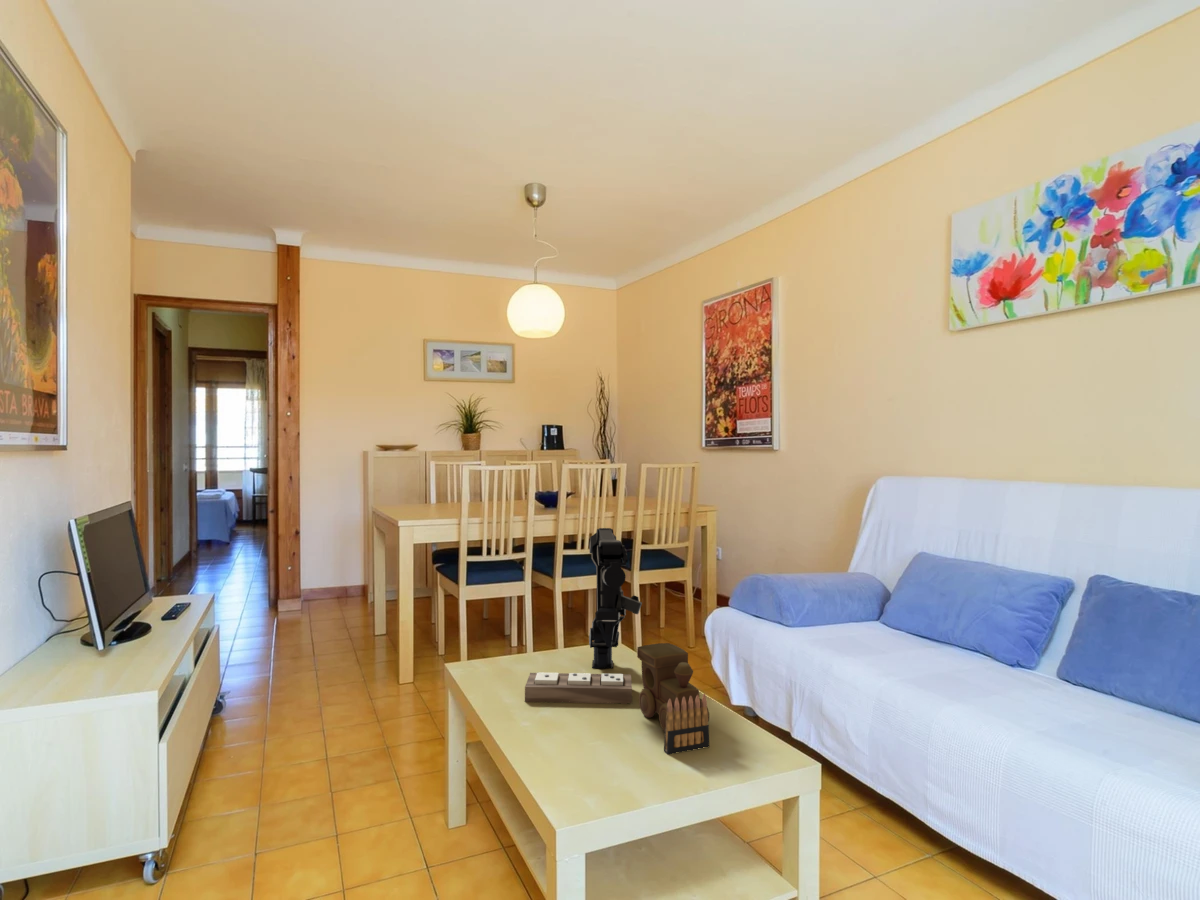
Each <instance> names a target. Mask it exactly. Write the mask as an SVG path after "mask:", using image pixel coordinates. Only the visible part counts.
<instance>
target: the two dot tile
mask: <svg viewBox="0 0 1200 900" xmlns="http://www.w3.org/2000/svg"><path fill="white" fill-rule="evenodd" d="M568 673H569V677H568V685H591V674H592V673H591V672H588V673H587V672H585V673H584V672H568Z"/></svg>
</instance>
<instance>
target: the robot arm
mask: <svg viewBox="0 0 1200 900" xmlns="http://www.w3.org/2000/svg"><path fill="white" fill-rule="evenodd" d="M588 547H589V554H591V560H592V562H593V564H594V565H595V568H596V612H594V613H595V614H594V618H593V620H592V622H591V627H590V628H589V635H588V639H589V640H588V642H589V643H588V644H589V648H590V649H592V648H593V660H592V664H591V668H592V669H613V668H614V660H613V648H618V646H619V637H620V632H619V627H620V624H621V622H622V621H623V620H624V619H625V618H626V617H625V616H626V615H627V614H626V613H627V611H629V612H631V613H632V614H634V615H639V613H640V611H641V607H642V604H643V602H642V601H640V600H639V599H640V598H639V596H637V595H635V594H633V595H632V596H631V597H629V596H625V595H624V590H623V589H622V586H623V585H624V584H625V582H626V576H627V575H626V573H625V571H624V570H623V568H621V567H622V566H627V563H629V560H628V559H629V558H628V553H627V551H628V550H627V548H626V547H625V545H623V542H622V541H621V540H618V539H617V536H616V535H615V534H614V529H613V528H611V527H599V528H596V532H595V533H593V535H591V536H590V537H589V546H588Z"/></svg>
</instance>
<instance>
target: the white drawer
mask: <svg viewBox="0 0 1200 900" xmlns="http://www.w3.org/2000/svg"><path fill="white" fill-rule="evenodd" d="M536 673H537V675H536V678H535V684H558V681H559V673H560V672H543V671H541V672H536Z"/></svg>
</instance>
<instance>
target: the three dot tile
mask: <svg viewBox="0 0 1200 900" xmlns="http://www.w3.org/2000/svg"><path fill="white" fill-rule="evenodd" d="M600 674H601V685H615V686H623V673H600Z"/></svg>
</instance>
